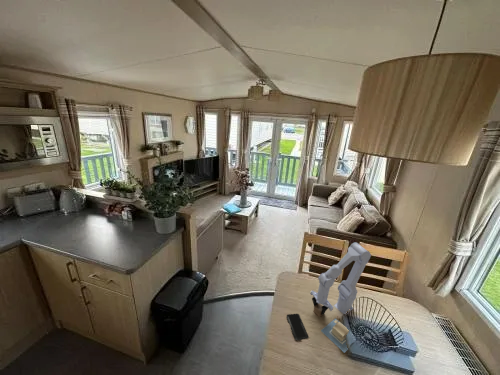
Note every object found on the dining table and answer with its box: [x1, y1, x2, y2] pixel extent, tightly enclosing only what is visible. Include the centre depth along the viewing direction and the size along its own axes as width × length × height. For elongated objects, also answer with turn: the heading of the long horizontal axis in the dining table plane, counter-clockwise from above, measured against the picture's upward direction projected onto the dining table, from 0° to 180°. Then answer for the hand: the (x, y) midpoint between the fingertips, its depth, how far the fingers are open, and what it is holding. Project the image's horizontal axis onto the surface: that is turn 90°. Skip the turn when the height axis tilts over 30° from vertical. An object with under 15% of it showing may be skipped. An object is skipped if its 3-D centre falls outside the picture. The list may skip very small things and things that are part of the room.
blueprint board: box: [320, 318, 349, 354], centre depth 115 cm, size 14×14×1 cm
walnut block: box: [313, 304, 323, 318], centre depth 127 cm, size 4×4×4 cm
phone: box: [286, 313, 310, 342], centre depth 118 cm, size 8×1×15 cm
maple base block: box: [332, 321, 350, 342], centre depth 114 cm, size 6×6×4 cm
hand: (319, 311), depth 127 cm, fingers closed on walnut block, 4 cm apart
